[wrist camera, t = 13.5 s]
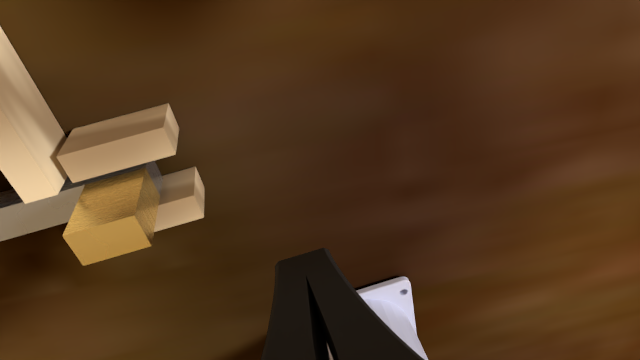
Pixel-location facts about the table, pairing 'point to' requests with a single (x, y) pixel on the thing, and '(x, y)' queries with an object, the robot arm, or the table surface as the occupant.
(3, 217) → the pin
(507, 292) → the table surface
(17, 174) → the dock
